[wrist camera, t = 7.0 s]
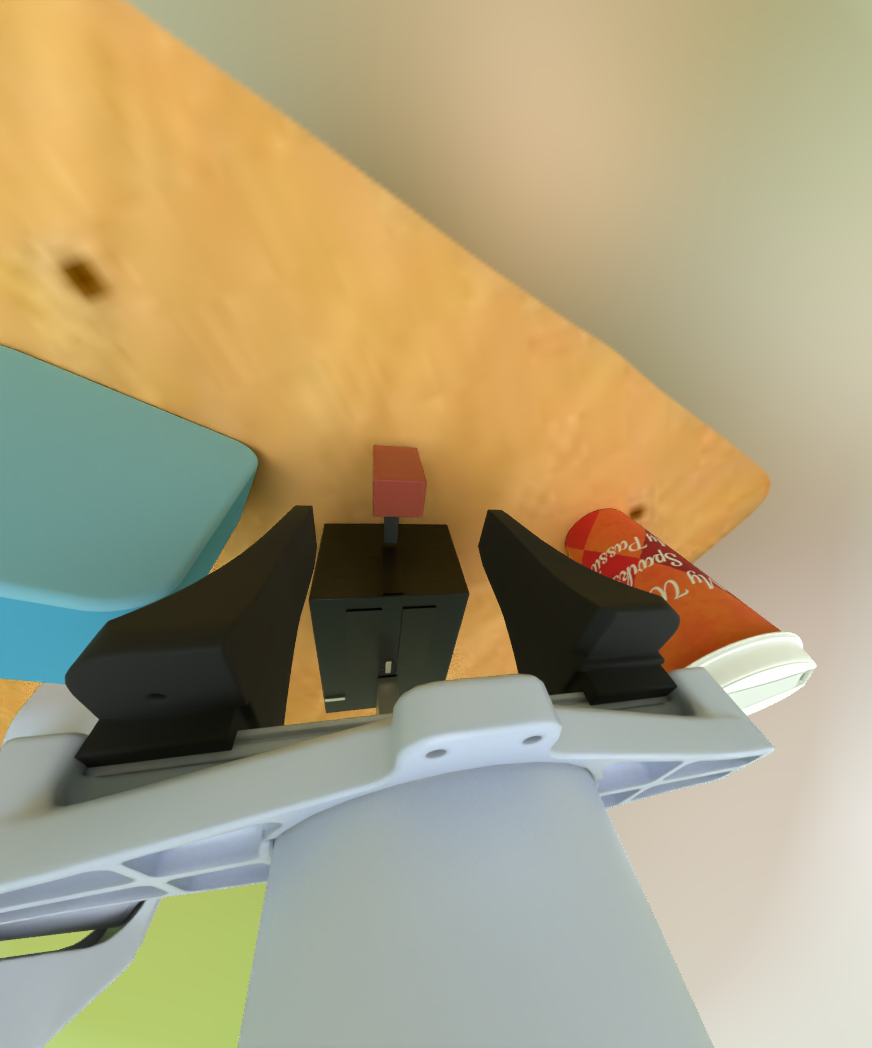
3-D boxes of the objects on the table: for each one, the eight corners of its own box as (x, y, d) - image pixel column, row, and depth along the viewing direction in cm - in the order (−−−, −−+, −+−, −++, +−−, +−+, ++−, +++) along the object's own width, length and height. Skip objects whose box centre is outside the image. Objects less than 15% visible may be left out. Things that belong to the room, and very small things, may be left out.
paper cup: (634, 481, 25) (851, 635, 13) (641, 542, 29) (808, 697, 18) (542, 526, 26) (670, 702, 15) (562, 579, 30) (673, 744, 19)
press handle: (371, 539, 21) (371, 584, 18) (373, 444, 17) (373, 479, 14) (407, 539, 21) (414, 583, 18) (416, 447, 17) (427, 481, 14)
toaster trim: (353, 608, 26) (349, 673, 21) (350, 536, 21) (345, 598, 17) (416, 605, 27) (424, 666, 22) (425, 536, 22) (439, 595, 18)
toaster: (335, 647, 31) (327, 727, 25) (324, 523, 22) (307, 602, 16) (425, 641, 33) (436, 714, 27) (447, 524, 24) (470, 595, 18)
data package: (-18, 420, 15) (-646, 624, 6) (-31, 328, 13) (-1001, 412, 4) (247, 508, 21) (139, 694, 11) (266, 451, 19) (155, 616, 9)
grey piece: (393, 706, 25) (396, 757, 22) (375, 708, 25) (376, 759, 22) (397, 676, 22) (401, 728, 20) (377, 677, 22) (378, 731, 19)
